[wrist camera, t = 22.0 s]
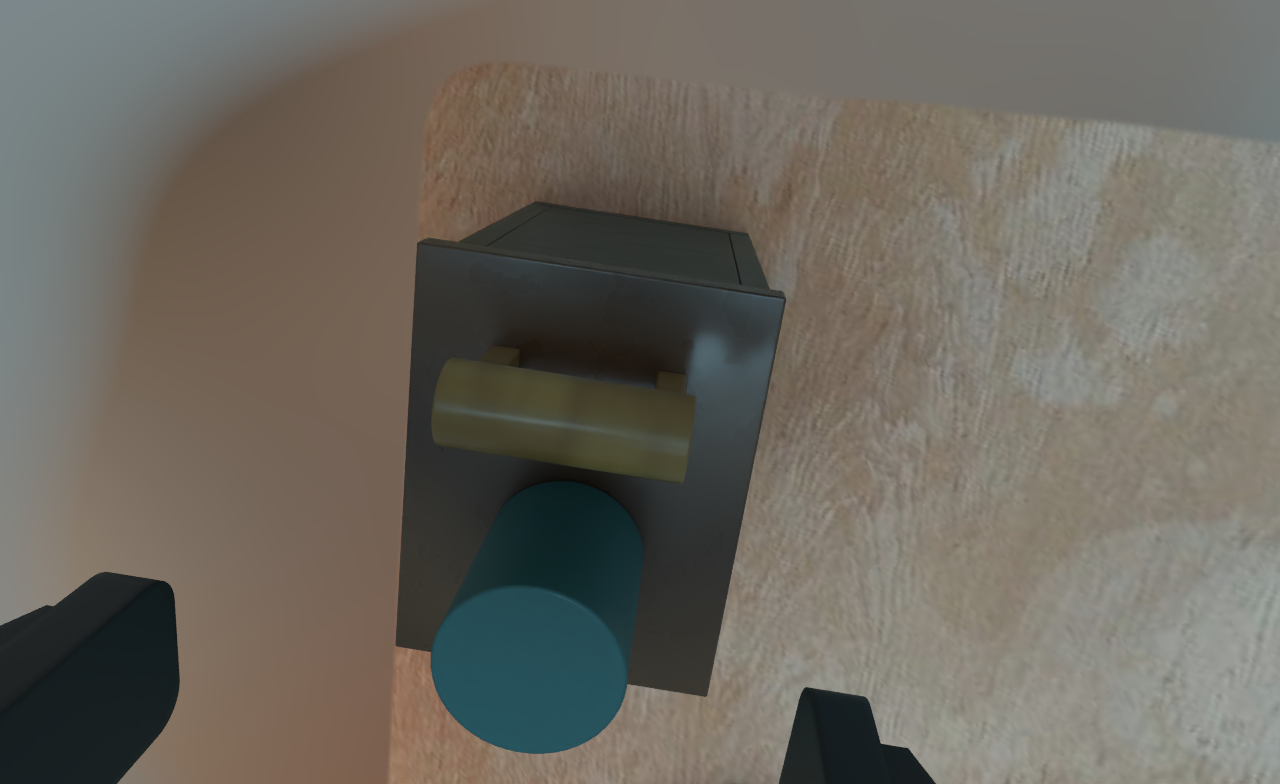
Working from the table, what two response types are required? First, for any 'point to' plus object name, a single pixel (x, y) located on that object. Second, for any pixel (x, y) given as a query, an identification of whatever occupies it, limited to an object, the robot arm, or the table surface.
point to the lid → (585, 428)
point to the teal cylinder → (543, 621)
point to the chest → (627, 243)
